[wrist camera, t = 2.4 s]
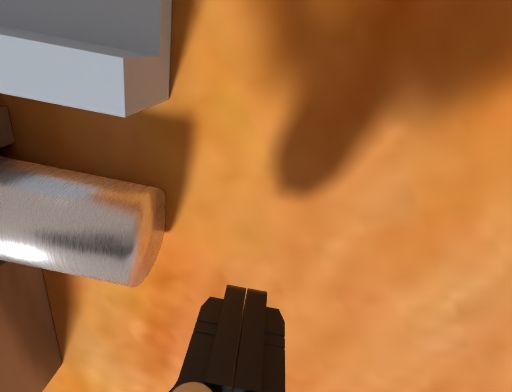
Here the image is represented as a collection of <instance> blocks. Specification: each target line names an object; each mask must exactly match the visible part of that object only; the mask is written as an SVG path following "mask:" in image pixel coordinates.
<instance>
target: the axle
mask: <svg viewBox="0 0 512 392" xmlns="http://www.w3.org/2000/svg"><path fill="white" fill-rule="evenodd" d="M165 214H166V197H165V194H164V192H163V190H162V189H160V188H156V187H151V186H146V185H141V184H136V183H131V182H126V181H121V180H116V179H111V178H106V177H101V176H96V175H91V174H86V173H81V172H76V171H71V170H66V169H61V168H56V167H51V166H46V165H41V164H36V163H31V162H26V161H21V160H16V159H11V158H6V157H1V156H0V260H3V261H8V262H13V263H17V264H22V265H27V266H32V267H37V268H42V269H47V270H52V271H56V272H61V273H66V274H71V275H76V276H81V277H86V278H90V279H95V280H100V281H105V282H110V283H115V284H120V285H124V286H129V287H136V286H138V285H139V284H141V283H142V282H143V281H144V279H145V278H146V277H147V275H148V274H149V272H150V270H151V268H152V267H153V265H154V262H155V260H156V258H157V255H158V253H159V250H160V247H161V243H162V240H163V236H164V231H165Z"/></svg>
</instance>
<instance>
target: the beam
mask: <svg viewBox="0 0 512 392" xmlns="http://www.w3.org/2000/svg"><path fill="white" fill-rule="evenodd" d="M12 143H15V141H14V136H13V131H12V127H11V122H10V117H9V112H8V108H7V106H1V105H0V147H3V146H6V145H9V144H12ZM61 365H62V362H61V357H60V352H59V348H58V343H57V338H56V334H55V329H54V324H53V319H52V315H51V310H50V305H49V301H48V296H47V291H46V287H45V282H44V277H43V272H42V268H37V267H32V266H27V265H22V264H17V263H13V262H8V261H3V260H0V392H42V391H43V390H44V388H45V387H46V386H47V384H48V383H49V381H50V380H51V379H52V377H53V376H54V375H55V373H56V372H57V370H58V369H59V368H60V366H61Z"/></svg>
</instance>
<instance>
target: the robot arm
mask: <svg viewBox="0 0 512 392" xmlns="http://www.w3.org/2000/svg"><path fill="white" fill-rule="evenodd" d="M245 293H246V288H243V287H237V286H232V285H227V288H226V292H225V296H224V299H220V298H214V297H210V298H209V299H208V300H207V301H206V302H205V303H204V304H203V305H202V306H201V309H200V312H199V315H198V318H197V322H196V325H195V328H194V331H193V334H192V337H191V340H190V344H189V347H188V350H187V353H186V356H185V359H184V363H183V366H182V369H181V372H180V375H179V378H178V380H177V382H176V384H175V385H174V387H173V388H172V389H171V390H170V391H169V392H285V350H284V349H285V339H284V337H285V322H284V320H283V317H282V315H281V313H280V311H279V309H275V308H270V307H266V302H267V292H265V291H260V290H254V289H249V288H248V290H247V294H246V299H245ZM244 300H245V304H244ZM243 307H244V309H243ZM242 313H243V314H242Z"/></svg>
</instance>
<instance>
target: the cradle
mask: <svg viewBox="0 0 512 392" xmlns="http://www.w3.org/2000/svg"><path fill="white" fill-rule="evenodd" d="M171 16H172V0H0V93H2V94H7V95H13V96H18V97H23V98H28V99H33V100H38V101H43V102H48V103H53V104H58V105H63V106H69V107H74V108H79V109H84V110H89V111H94V112H99V113H104V114H109V115H114V116H120V117H128V116H130V115H133V114H135V113H137V112H140V111H142V110H145V109H147V108H149V107H152V106H154V105H157V104H159V103H161V102H164V101H166V100H169V78H170V47H171Z"/></svg>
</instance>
